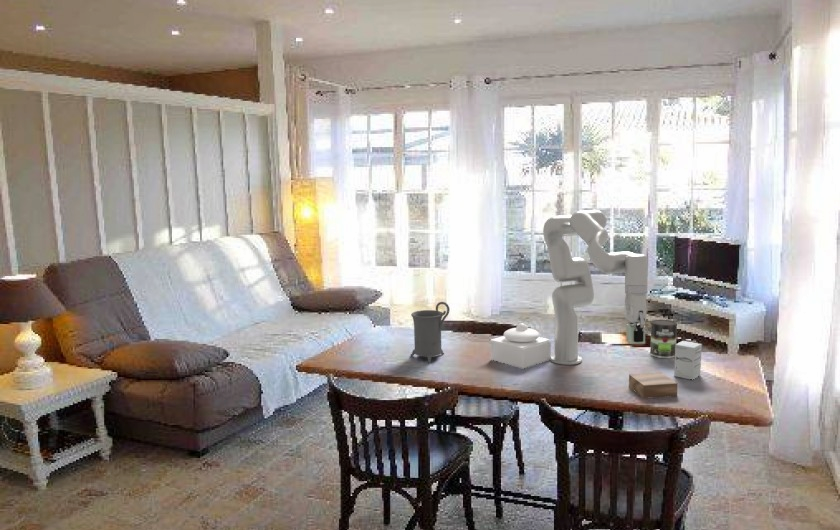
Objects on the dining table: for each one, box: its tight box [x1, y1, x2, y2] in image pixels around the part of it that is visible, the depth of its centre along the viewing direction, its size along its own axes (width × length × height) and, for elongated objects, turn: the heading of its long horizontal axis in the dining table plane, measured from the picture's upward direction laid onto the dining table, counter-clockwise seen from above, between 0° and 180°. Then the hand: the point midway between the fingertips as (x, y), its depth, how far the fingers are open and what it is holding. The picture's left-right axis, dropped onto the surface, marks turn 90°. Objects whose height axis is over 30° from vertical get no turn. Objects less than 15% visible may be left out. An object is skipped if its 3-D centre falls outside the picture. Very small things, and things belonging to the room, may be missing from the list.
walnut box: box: [628, 372, 678, 399], centre depth 225 cm, size 12×12×5 cm
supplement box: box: [673, 340, 703, 381], centre depth 239 cm, size 7×7×13 cm
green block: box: [625, 323, 646, 345], centre depth 225 cm, size 5×5×6 cm
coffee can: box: [649, 319, 678, 359], centre depth 267 cm, size 10×10×14 cm
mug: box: [410, 301, 450, 364], centre depth 270 cm, size 19×15×25 cm
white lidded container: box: [490, 322, 552, 370], centre depth 265 cm, size 18×18×16 cm
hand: (635, 339), depth 226 cm, fingers closed on green block, 5 cm apart
